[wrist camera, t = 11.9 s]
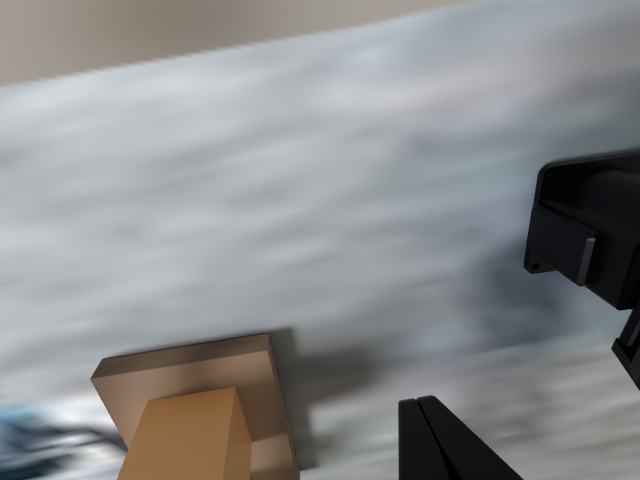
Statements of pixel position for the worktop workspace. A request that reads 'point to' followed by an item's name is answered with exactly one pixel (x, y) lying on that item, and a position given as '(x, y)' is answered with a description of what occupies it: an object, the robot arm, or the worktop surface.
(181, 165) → the worktop surface
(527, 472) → the worktop surface
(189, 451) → the kraft paper carton
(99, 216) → the worktop surface
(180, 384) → the wooden holder
